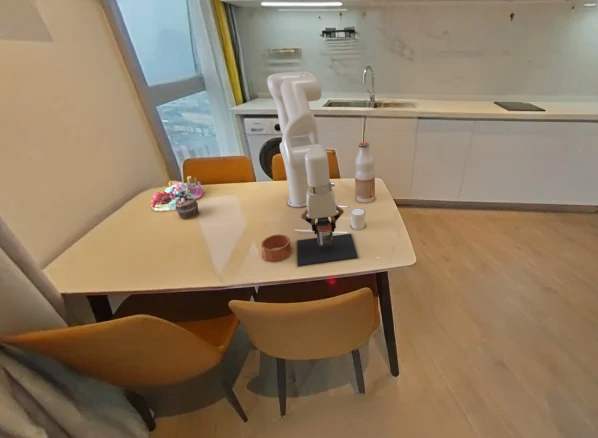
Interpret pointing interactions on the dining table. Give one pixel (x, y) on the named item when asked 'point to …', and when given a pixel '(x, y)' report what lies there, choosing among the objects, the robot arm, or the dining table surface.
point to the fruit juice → (364, 174)
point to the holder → (276, 253)
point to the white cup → (357, 218)
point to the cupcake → (186, 206)
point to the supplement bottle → (324, 232)
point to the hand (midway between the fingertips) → (324, 230)
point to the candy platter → (175, 194)
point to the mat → (325, 250)
